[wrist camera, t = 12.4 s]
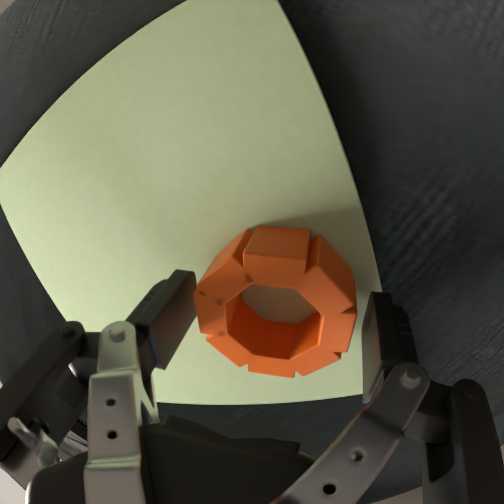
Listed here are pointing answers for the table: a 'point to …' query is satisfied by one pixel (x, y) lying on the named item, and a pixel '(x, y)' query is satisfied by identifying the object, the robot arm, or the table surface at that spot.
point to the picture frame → (77, 437)
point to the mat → (190, 186)
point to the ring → (286, 276)
